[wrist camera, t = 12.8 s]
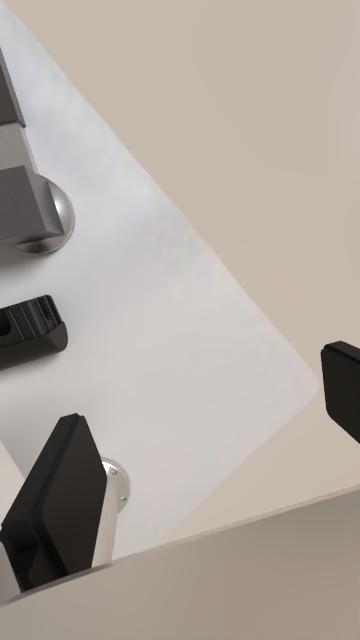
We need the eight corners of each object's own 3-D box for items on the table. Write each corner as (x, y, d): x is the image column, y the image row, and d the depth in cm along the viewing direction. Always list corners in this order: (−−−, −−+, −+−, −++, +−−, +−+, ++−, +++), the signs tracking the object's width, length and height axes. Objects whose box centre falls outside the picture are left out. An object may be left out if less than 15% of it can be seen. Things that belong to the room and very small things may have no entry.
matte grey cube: (48, 182, 30) (24, 165, 25) (65, 234, 32) (46, 230, 26) (-4, 192, 30) (-41, 178, 24) (16, 245, 32) (-14, 243, 26)
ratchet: (84, 244, 34) (72, 243, 29) (14, 260, 34) (-9, 261, 29) (20, 38, 28) (-7, -8, 23) (-64, 53, 28) (-111, 9, 23)
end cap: (5, 361, 37) (-26, 384, 30) (-19, 314, 35) (-58, 328, 28) (74, 339, 37) (58, 358, 31) (53, 292, 35) (32, 301, 29)
